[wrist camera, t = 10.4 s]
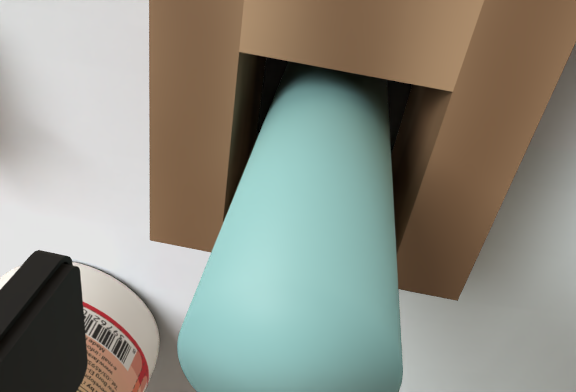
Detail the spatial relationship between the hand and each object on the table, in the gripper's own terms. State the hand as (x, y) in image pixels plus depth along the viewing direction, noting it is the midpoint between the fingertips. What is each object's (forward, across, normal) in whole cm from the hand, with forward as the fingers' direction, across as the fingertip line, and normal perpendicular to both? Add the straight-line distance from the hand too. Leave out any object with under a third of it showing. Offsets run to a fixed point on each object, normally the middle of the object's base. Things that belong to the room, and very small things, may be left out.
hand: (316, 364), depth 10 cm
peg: (+12, +1, -1) cm, 12 cm away
